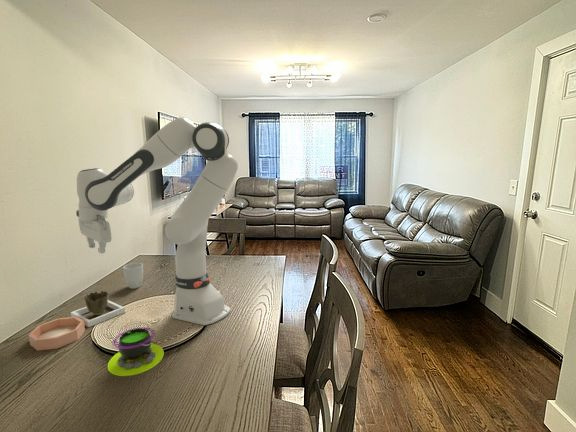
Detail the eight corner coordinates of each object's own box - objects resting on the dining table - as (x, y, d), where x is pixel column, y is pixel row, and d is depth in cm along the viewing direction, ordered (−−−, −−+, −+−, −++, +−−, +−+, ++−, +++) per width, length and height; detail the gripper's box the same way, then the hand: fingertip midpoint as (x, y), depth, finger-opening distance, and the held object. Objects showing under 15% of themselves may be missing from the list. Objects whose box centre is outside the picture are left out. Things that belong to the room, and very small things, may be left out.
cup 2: (83, 320, 114) (81, 300, 112) (90, 311, 121) (88, 292, 119) (106, 318, 116) (104, 297, 114) (112, 309, 123) (110, 289, 121)
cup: (148, 283, 148) (146, 263, 147) (138, 290, 140) (136, 269, 139) (131, 282, 149) (130, 262, 147) (121, 289, 141) (119, 268, 139)
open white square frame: (124, 312, 120) (124, 307, 120) (88, 327, 109) (88, 322, 109) (107, 303, 127) (106, 299, 127) (71, 317, 116) (70, 312, 116)
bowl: (91, 334, 105) (89, 324, 105) (42, 354, 94) (41, 344, 93) (72, 322, 113) (70, 313, 112) (25, 340, 101) (23, 330, 101)
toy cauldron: (172, 359, 92) (170, 324, 90) (116, 384, 82) (112, 346, 80) (152, 338, 103) (149, 307, 101) (100, 359, 92) (96, 324, 90)
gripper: (114, 216, 110) (117, 254, 112) (92, 209, 123) (95, 243, 125) (95, 218, 105) (98, 258, 108) (74, 211, 118) (77, 246, 120)
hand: (96, 250), depth 117 cm, fingers open, 8 cm apart
